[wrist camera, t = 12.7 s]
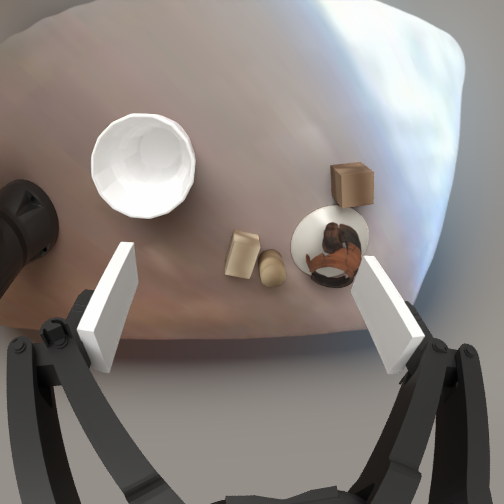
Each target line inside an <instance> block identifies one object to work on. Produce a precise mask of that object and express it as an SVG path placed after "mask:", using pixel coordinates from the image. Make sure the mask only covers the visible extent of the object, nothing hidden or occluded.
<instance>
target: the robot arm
mask: <svg viewBox="0 0 504 504" xmlns="http://www.w3.org/2000/svg"><path fill="white" fill-rule="evenodd" d="M57 235H58V219H57V215H56V211H55V209H54V206H53V204H52V202H51V200H50V199H49V197H48V196H47V195H46V193H45V192H44V191H43V190H42V189H41V188H40V187H39V186H37V185H36V184H34V183H32V182H30V181H27V180H15V181H12V182H10V183H9V184H7V185H6V186H5V187H3V188H2V189H1V190H0V299H1V297H2V296H3V294H4V293H5V291H6V290H7V289H8V287H9V286H10V284H11V283H12V282H13V280H14V279H15V278H16V276H17V275H18V273H19V272H20V271H21V269H22V268H23V267H24V266H25V265H27V264H29V263H31V262H33V261H35V260H37V259H39V258H41V257H42V256H44V255H45V254H46V253H47V252H48V251H49V250H50V249H51V247H52V246H53V245H54V243H55V241H56V239H57ZM138 283H139V282H138V275H137V267H136V259H135V250H134V243H132V242H121V243H120V244H119V246H118V248H117V250H116V251H115V253H114V255H113V257H112V259H111V261H110V262H109V264H108V266H107V268H106V270H105V272H104V274H103V276H102V278H101V280H100V281H99V283H98V285H97V287H96V289H95V290H86V289H85V290H84V291H83V292H82V293H81V294H80V295H79V296H78V297H77V299H76V301H75V303H74V305H73V307H72V309H71V311H70V313H69V315H68V317H67V319H66V320H65V319H62V318H57V317H55V318H51V319H49V320H47V321H46V322H45V323H44V324H43V325H42V326H41V329H40V334H41V337H42V339H43V341H44V343H35V344H32V342H31V340H30V339H29V338H28V337H25V336H20V337H17V338H15V339H13V340H12V341H11V342H10V344H9V346H8V350H7V411H8V425H9V435H10V443H11V451H12V458H13V464H14V469H15V475H16V480H17V484H18V489H19V493H20V497H21V501H22V504H81V502H80V499H79V496H78V493H77V490H76V487H75V484H74V480H73V477H72V474H71V470H70V467H69V463H68V460H67V456H66V452H65V447H64V443H63V439H62V434H61V429H60V424H59V420H58V414H57V408H56V402H55V394H54V387H53V386H57V385H58V386H59V385H62V387H63V389H64V391H65V393H66V395H67V398H68V400H69V402H70V404H71V406H72V408H73V410H74V412H75V414H76V416H77V418H78V420H79V422H80V424H81V426H82V428H83V430H84V432H85V433H86V435H87V437H88V439H89V441H90V442H91V444H92V446H93V447H94V449H95V451H96V453H97V454H98V456H99V457H100V459H101V461H102V462H103V464H104V465H105V467H106V469H107V470H108V472H109V473H110V475H111V476H112V478H113V479H114V480H115V482H116V483H117V485H118V486H119V488H120V489H121V490H122V492H123V493H124V495H125V498H126V500H127V501H128V503H129V504H185V503H184V502H183V501H182V500H181V499H180V498H179V496H178V495H177V494H176V493H175V492H174V491H173V490H172V489H171V487H170V486H169V485H168V484H167V483H166V482H165V481H164V479H163V478H162V477H161V476H160V475H159V474H158V473H157V472H156V470H155V469H154V468H153V467H152V465H151V464H150V463H149V461H148V460H147V459H146V458H145V456H144V455H143V454H142V452H141V451H140V450H139V448H138V447H137V445H136V444H135V443H134V441H133V440H132V438H131V437H130V436H129V434H128V433H127V431H126V430H125V428H124V427H123V425H122V424H121V422H120V421H119V419H118V418H117V416H116V415H115V413H114V411H113V410H112V408H111V406H110V405H109V403H108V402H107V400H106V398H105V397H104V395H103V393H102V392H101V390H100V388H99V386H98V385H97V383H96V381H95V379H94V377H93V375H92V374H91V372H90V370H89V368H90V365H92V367H93V369H94V371H98V372H104V373H110V369H111V366H112V362H113V359H114V356H115V352H116V349H117V346H118V342H119V339H120V336H121V333H122V330H123V327H124V323H125V320H126V317H127V314H128V311H129V308H130V306H131V303H132V300H133V297H134V294H135V291H136V288H137V286H138ZM351 294H352V296H353V298H354V300H355V302H356V304H357V306H358V308H359V311H360V313H361V315H362V317H363V319H364V321H365V323H366V326H367V328H368V330H369V332H370V334H371V336H372V338H373V341H374V343H375V345H376V348H377V350H378V352H379V354H380V356H381V359H382V361H383V363H384V366H385V368H386V370H387V373H388V374H396V373H400V372H401V371H402V370H403V368H404V366H405V365H406V367H407V369H408V372H407V373H406V374H405V376H404V377H403V378H402V380H401V381H400V382H399V384H401V383H402V385H401V388H400V391H399V393H398V396H397V398H396V401H395V404H394V406H393V408H392V411H391V413H390V415H389V418H388V421H387V422H386V425H385V427H384V429H383V431H382V434H381V436H380V438H379V440H378V442H377V444H376V446H375V448H374V451H373V452H372V454H371V456H370V458H369V461H368V462H367V464H366V466H365V468H364V470H363V472H362V474H361V475H360V477H359V479H358V480H357V482H356V483H355V484H354V485H353V486H352V487H351V488H350V490H349V491H348V492H345V491H339V490H337V486H332V487H327V488H321V489H315V490H310V491H307V492H305V493H302V494H300V495H297V496H294V497H291V498H288V499H283V500H282V499H274V498H267V497H261V496H255V495H253V496H226V498H225V500H221V501H217V502H214V503H212V504H411V501H412V500H413V498H414V495H415V493H416V490H417V488H418V486H419V483H420V480H421V477H422V476H421V473H420V472H418V469H419V466H420V463H421V460H422V457H423V455H424V452H425V449H426V446H427V443H428V439H429V436H430V433H431V430H432V426H433V423H434V419H435V415H436V432H435V449H434V461H433V471H432V480H431V487H430V494H429V502H428V504H493V502H492V497H491V493H490V488H489V482H490V450H489V449H490V448H489V430H488V429H489V428H488V416H487V407H486V398H485V390H484V384H483V377H482V372H481V366H480V361H479V357H478V353H477V351H476V349H475V348H474V347H473V346H471V345H469V344H462V345H461V346H460V348H459V349H458V350H454V349H449V348H448V347H447V345H446V344H445V343H444V342H443V341H441V340H440V339H437V338H433V337H432V335H431V333H430V331H429V330H428V328H427V326H426V325H425V323H424V322H423V321H422V318H421V317H420V315H419V314H418V312H417V311H416V309H415V308H414V306H412V305H411V304H410V303H409V302H408V301H403V299H402V297H401V296H400V294H399V293H398V291H397V290H396V288H395V287H394V285H393V283H392V282H391V280H390V279H389V277H388V276H387V274H386V273H385V271H384V270H383V268H382V267H381V266H380V264H379V263H378V261H377V260H376V258H375V257H374V256H363V258H362V261H361V264H360V267H359V270H358V272H357V275H356V278H355V281H354V284H353V286H352V289H351Z"/></svg>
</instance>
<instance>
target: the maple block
mask: <svg viewBox="0 0 504 504" xmlns="http://www.w3.org/2000/svg"><path fill="white" fill-rule="evenodd" d="M259 250H260V243H259V237H258V235H255V234H250V233H246V232H241V231H237V230H234V231H233V235H232V238H231V242H230V245H229V249H228V252H227V256H226V259H225V274H226V275H231V276H236V277H241V278H247V279H250V276H251V273H252V270H253V268H254V265H255V262H256V259H257V256H258V253H259Z"/></svg>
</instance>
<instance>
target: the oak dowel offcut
mask: <svg viewBox="0 0 504 504" xmlns="http://www.w3.org/2000/svg"><path fill="white" fill-rule="evenodd" d="M258 263H259V270H260V276H261V281H262V283H263V284H264V285H265V286H268V287H277V286H280V285H281V284H283V283H284V281H285V280H286V272H285V268H284V264H283V261H282V257H281V254H280V253H279V252H278V251H276V250H272V249H269V250H265V251H263V252H262V253H261V254H260V255H259V258H258Z"/></svg>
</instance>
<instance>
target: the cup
mask: <svg viewBox="0 0 504 504" xmlns="http://www.w3.org/2000/svg"><path fill="white" fill-rule="evenodd" d="M195 162H196V161H195V153H194V150H193V147H192V144H191V141H190V138H189V136H188V135H187V134H186V132H185V131H184V129H183V128H182V127H181V126H180V125H179V124H178V123H177V122H175V121H172V120H170V119H168V118H166V117H164V116H162V115H155V114H130V115H128V116H125V117H123V118H121V119H119V120H116V121H114V122H112V123H111V124H110V125H109V126H108V127H107V128H106V129H105V130H104V132H103V133H102V134H101V135H100V136H99V137H98V139H97V142H96V144H95V147H94V150H93V153H92V155H91V173H92V179H93V181H94V183H95V186H96V188H97V190H98V192H99V195H100V196H101V197H102V198H103V199H104V200H105V201H106V202H107V203H108V204H109V205H110V206H111V207H112V208H113V209H114V210H116V211H118V212H120V213H123V214H125V215H127V216H129V217H134V218H145V219H151V218H155V217H158V216H161V215H164V214H167V213H169V212H171V211H172V210H173V209H174V208H176V207H177V206H178V205H179V204H181V203H182V202H183V201H184V200H185V198H186V196H187V194H188V192H189V190H190V188H191V186H192V185H193V182H194V172H195Z"/></svg>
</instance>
